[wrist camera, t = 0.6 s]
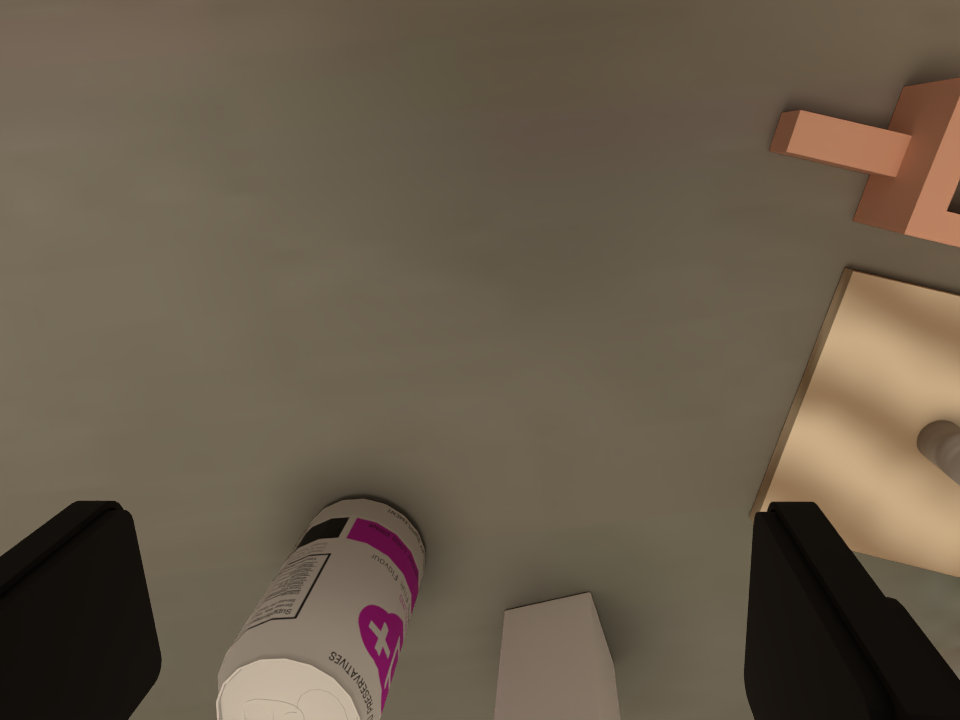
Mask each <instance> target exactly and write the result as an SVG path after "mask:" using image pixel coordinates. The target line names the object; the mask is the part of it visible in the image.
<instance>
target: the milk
mask: <svg viewBox="0 0 960 720" xmlns="http://www.w3.org/2000/svg"><path fill="white" fill-rule="evenodd" d="M494 720H620V713H619V704H618V696H617V687H616V679H615V670H614V664H613V661H612V657H611V654H610V651H609V648H608V645H607V642H606V639H605V636H604V633H603V630H602V627H601V624H600V621H599V617H598V614H597V611H596V608H595V605H594V602H593V599H592V596H591V593H590V592H588V593H583V594H578V595H574V596H569V597H565V598H560V599H556V600H551V601H547V602H542V603H538V604H533V605H529V606H524V607H519V608H515V609H510V610H506V611H505V614H504V624H503V634H502V644H501V653H500V663H499V673H498V683H497V692H496V702H495V712H494Z"/></svg>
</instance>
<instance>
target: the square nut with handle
mask: <svg viewBox="0 0 960 720" xmlns="http://www.w3.org/2000/svg"><path fill="white" fill-rule="evenodd" d="M769 151H771V152H775V153H779V154H783V155H788V156H792V157H796V158H801V159H805V160H809V161H813V162H818V163H822V164H826V165H831V166H835V167H839V168H843V169H848V170H852V171H856V172H861V173H865V174H869V175H870V177H869V179H868V182H867V184H866V187H865V190H864V192H863V195H862V198H861V200H860V203H859V205H858V208H857V211H856V213H855V216H854V219H853V221H855V222H859V223H863V224H867V225H870V226H874V227H878V228H882V229H886V230H890V231H894V232H898V233H902V234H906V235H910V236H914V237H919V238H923V239H927V240H931V241H936V242H940V243H944V244H948V245H953V246H957V247H960V214H956V213H952V212H948V211H947V209H948V206H949V204H950V201H951V199H952V197H953V194H954V192H955V189H956V187H957V185H958V182H959V180H960V78H954V79H948V80H942V81H936V82H930V83H923V84H917V85H911V86H905V87H903V90H902V92H901V95H900V97H899V100H898V103H897V105H896V108H895V111H894V113H893V116H892V119H891V121H890V124H889V126H888V129H887V130H885V129H881V128H876V127H872V126H868V125H863V124H859V123H855V122H850V121H846V120H842V119H837V118H833V117H829V116H824V115H820V114H816V113H811V112H807V111H803V110H797V111H790V112H782V114H781V117H780V120H779V123H778V126H777V129H776V132H775V135H774V138H773V140H772V143H771V146H770V149H769Z"/></svg>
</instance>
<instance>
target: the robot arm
mask: <svg viewBox="0 0 960 720" xmlns="http://www.w3.org/2000/svg"><path fill="white" fill-rule="evenodd" d="M161 661H162V659H161V652H160V647H159V642H158V637H157V633H156V628H155V623H154V618H153V613H152V608H151V603H150V599H149V594H148V589H147V584H146V579H145V574H144V569H143V565H142V560H141V555H140V550H139V545H138V540H137V536H136V531H135V526H134V521H133V518H132V515H131V514H130V513H129V512H128V511H126V510H123V508H122V506H121V505H120V504H119V503H118V502H116V501H76V502H74V503H72V504H71V505H69V506H68V507H67V508H65V509H64V510H63V511H61V512H60V513H58V514H57V515H56V516H54V517H53V518H52V519H50V520H49V521H48V522H46V523H45V524H44V525H42V526H41V527H40V528H38V529H37V530H36V531H34V532H33V533H32V534H30V535H29V536H27V537H26V538H25V539H23V540H22V541H21V542H19V543H18V544H17V545H15V546H14V547H13V548H11V549H10V550H9V551H7V552H6V553H5V554H3V555H2V556H1V557H0V720H128V719H129V717H130V716H131V715H132V713H133V712H134V711H135V709H136V708H137V707H138V705H139V704H140V703H141V701H142V700H143V698H144V697H145V696H146V694H147V693H148V692H149V690H150V689H151V688H152V686H153V685H154V684H155V682H156V680H157V678H158V676H159V673H160V669H161ZM744 682H745V689H746V694H747V698H748V702H749V705H750V707H751V710H752V713H753V716H754V719H755V720H960V680H959V678H958V677H957V676H956V674H955V673H954V672H953V671H952V669H951V668H950V667H949V665H948V664H947V663H946V661H945V660H944V659H943V657H942V656H941V655H940V653H939V652H938V651H937V650H936V648H935V647H934V646H933V644H932V643H931V642H930V640H929V639H928V638H927V636H926V635H925V634H924V633H923V631H922V630H921V629H920V627H919V626H918V625H917V623H916V622H915V621H914V619H913V618H912V617H911V616H910V614H909V613H908V612H907V610H906V609H905V608H904V606H903V605H901V604H900V603H899V602H898V601H897V600H896V599H893V598H890V597H885V596H884V594H883V593H882V592H881V590H880V589H879V588H878V586H877V585H876V584H875V582H874V581H873V579H872V578H871V577H870V575H869V574H868V573H867V571H866V570H865V569H864V567H863V566H862V565H861V563H860V562H859V561H858V559H857V558H856V556H855V555H854V554H853V552H852V551H851V550H850V548H849V547H848V546H847V544H846V543H845V542H844V540H843V539H842V538H841V536H840V535H839V533H838V532H837V531H836V529H835V528H834V527H833V525H832V524H831V523H830V521H829V520H828V519H827V517H826V516H825V514H824V513H823V512H822V510H821V509H820V508H819V506H818V505H817V504H816V503H815V502H771V503H770V504H769V506H768V509H767V512H756V514H755V517H754V524H753V540H752V555H751V571H750V586H749V602H748V617H747V633H746V649H745V664H744Z"/></svg>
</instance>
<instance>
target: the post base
mask: <svg viewBox="0 0 960 720" xmlns="http://www.w3.org/2000/svg"><path fill="white" fill-rule="evenodd" d="M771 502H815V503H816V504H817V505H818V506H819V508H820V509H821V510H822V512H823V513H824V514H825V516H826V517H827V519H828V520H829V521H830V523H831V524H832V525H833V527H834V528H835V529H836V531H837V532H838V533H839V535H840V536H841V538H842V539H843V540H844V542H845V543H846V544H847V546H848V547H849V548H850V550H852V551H856V552H860V553H864V554H868V555H872V556H876V557H880V558H884V559H888V560H892V561H896V562H900V563H904V564H908V565H912V566H916V567H920V568H924V569H928V570H933V571H937V572H941V573H945V574H949V575H953V576H957V577H960V295H958V294H954V293H950V292H946V291H941V290H937V289H933V288H929V287H925V286H920V285H916V284H912V283H908V282H904V281H899V280H895V279H891V278H887V277H882V276H878V275H874V274H870V273H866V272H861V271H857V270H853V269H849V268H844V271H843V273H842V276H841V278H840V281H839V284H838V286H837V289H836V291H835V294H834V297H833V299H832V302H831V304H830V307H829V310H828V312H827V315H826V317H825V320H824V323H823V325H822V328H821V330H820V333H819V336H818V338H817V341H816V344H815V346H814V349H813V351H812V354H811V357H810V359H809V362H808V364H807V367H806V370H805V372H804V375H803V377H802V380H801V383H800V385H799V388H798V390H797V393H796V396H795V398H794V401H793V403H792V406H791V409H790V411H789V414H788V416H787V419H786V422H785V424H784V427H783V429H782V432H781V435H780V437H779V440H778V443H777V445H776V448H775V450H774V453H773V456H772V458H771V461H770V463H769V466H768V469H767V471H766V474H765V476H764V479H763V482H762V484H761V487H760V489H759V492H758V495H757V497H756V500H755V502H754V505H753V508H752V510H751V513H750V515H749V517H750V519H751V521H752V523H753V524H754V517H755V514H756V512H767V509H768V506H769V504H770V503H771Z"/></svg>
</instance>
